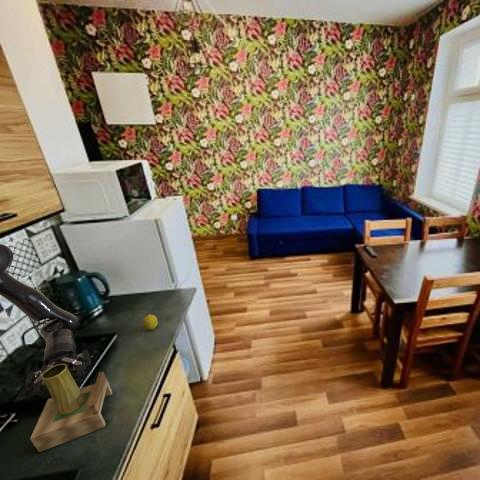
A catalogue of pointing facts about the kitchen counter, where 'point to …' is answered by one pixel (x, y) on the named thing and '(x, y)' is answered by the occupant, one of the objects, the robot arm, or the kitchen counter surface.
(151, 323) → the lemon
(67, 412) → the vase
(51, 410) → the wooden tray
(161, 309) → the kitchen counter surface
